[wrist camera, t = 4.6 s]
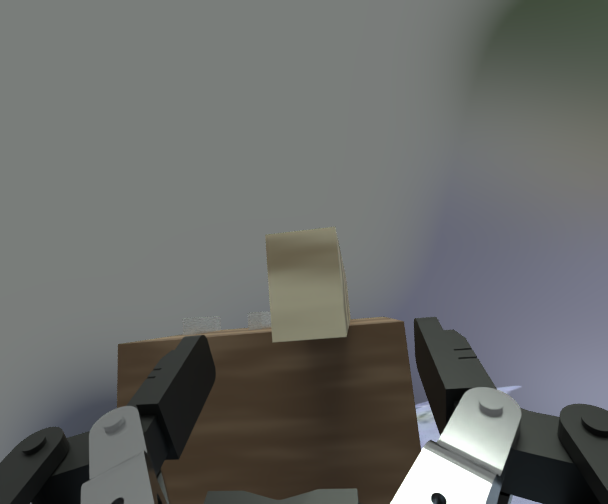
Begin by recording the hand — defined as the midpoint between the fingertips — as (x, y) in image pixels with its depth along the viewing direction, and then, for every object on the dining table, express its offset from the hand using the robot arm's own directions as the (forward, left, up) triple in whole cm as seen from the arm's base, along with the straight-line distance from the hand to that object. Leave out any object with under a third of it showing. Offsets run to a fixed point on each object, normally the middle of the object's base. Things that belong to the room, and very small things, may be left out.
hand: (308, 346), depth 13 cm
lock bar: (-9, -8, 0) cm, 12 cm away
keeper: (-9, -20, 0) cm, 22 cm away
